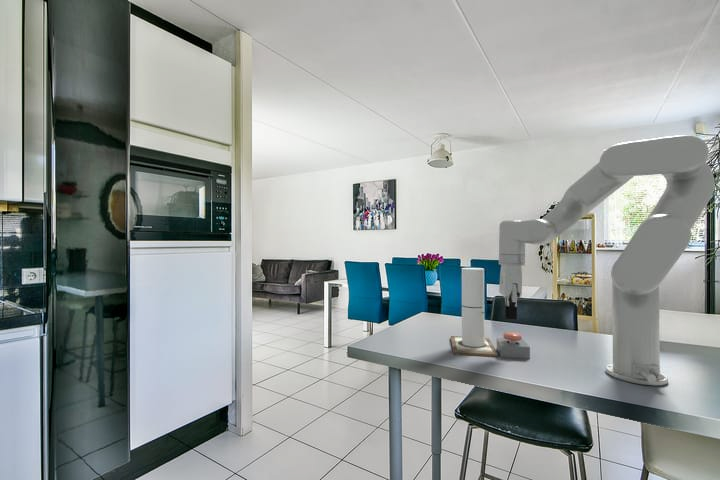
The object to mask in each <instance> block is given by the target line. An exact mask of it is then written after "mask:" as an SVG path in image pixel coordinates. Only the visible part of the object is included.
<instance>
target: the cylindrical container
mask: <svg viewBox="0 0 720 480" xmlns="http://www.w3.org/2000/svg"><path fill="white" fill-rule="evenodd" d="M461 337H462V344H463V345H466V346H470V347H482V346H484V338H485V268H482V267H461Z"/></svg>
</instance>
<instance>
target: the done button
mask: <svg viewBox="0 0 720 480" xmlns="http://www.w3.org/2000/svg"><path fill="white" fill-rule="evenodd" d="M522 337H523V336H522V334H521V333H520V332H513V331H512V332H510V331H507V332H504V333H503V339H507V340H509V344H516V341H519V340H523V338H522Z"/></svg>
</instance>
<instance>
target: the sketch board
mask: <svg viewBox="0 0 720 480" xmlns="http://www.w3.org/2000/svg"><path fill="white" fill-rule="evenodd" d="M450 342H451V347H452V354H453V355H462V356H463V355H464V356H477V357H478V356H480V357H493V358H494V357H499V352H498V351H497V349H495V347H494V345H493V343H492V341H491V340H490V338H489V337H484V346H482V347H470V346H466V345H463V344H462V336H457V335H456V336H455V335H451V336H450Z"/></svg>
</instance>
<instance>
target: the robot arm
mask: <svg viewBox="0 0 720 480" xmlns="http://www.w3.org/2000/svg"><path fill="white" fill-rule="evenodd" d="M709 152H710V150H709V146H708V144H707V143H706V142H705V141H704V140H703V139H701V138H700V137H698V136H694V135H689V134H688V135H687V134H685V135H682V134H681V135H674V136H673V135H671V136H664V137H658V138H651V139H641V140H636V141H635V140H634V141H626V142H620V143H617V144H614V145H612V146H610V147H608V148H606V149H605V150H604V151H603V153H602V154H601V155H600V158H599V162H597V163H596V164H595V165H594V166H593V167H592V168H590V169H589V170H588V171H587V172H586V173H585V174H583V175H581V177H580V178H578V179H577V180H576V181H575V182H574V183H572V184H571V185H570V186H569V187H568V188H567V189H566V191H565V192H564V195H563V196H562V198H561V200H559V202H558V203H557V204H556V206H555V207H554V208H553V209H551V210H550V211H548V213H546V214H545V215H544V216H543V217H542V218H541V219H540V218H535V219H528V220H512V219H511V220H510V219H509V220H503V221H501V222H500V223H499V227H498V228H499V229H498V230H499V233H498V235H499V237H498V265H500V273H499V287H498V291H499V294H500V295H501V296H503V298H504V318H505V319H506V320H517V318H518V315H517V313H518V299H520V298H521V297H522V295H523V294H522V292H523V271H522V270H523V269H522V266H526V244H530V245H538V246H539V245H540V246H541V245H548V244H551V243H553V242H554V241H555V240H556V239H557V238H559V237H560V236H561V235H563V234H565V233H566V231H568V230H569V229H570V228H572V226H574V225H575V224H576V223H578V222H579V220H581V219H582V218H584V217H585V216H586V215H588V214H589V213H590V212H591V211H592V210H594V209H595V208H596V207H597V206H598V205H600V204H601V203H603V201H605V200H606V199H607V198H609V197H610V196H611V195H612V194H614V193H615V192H616V191H618V190H619V189H620V188H621V187H623V186H624V185H625V184H627V183H628V182H629V181H630V180H631V179H633V178H634V177H637V176H638V177H639V176H642V177H643V176H655V175H662V176H663V177H664V179H665V181H666V186H665V189H664V191H663V193H662V195H661V196H660V197H659V200H658V202H656V204H655V205H654V207H653V209H652V210H651V212H650V213H649V215H648V217H646V219H645V220H643V221H642V222H641V223H640V225H639V226H638V227H637V229H636V231H635V232H634V234H633V235H632V237H631V238H630V240H629V242H628V243H627V244H626V246H625V248H624V249H623V250H622V252H621V254H620V255H619V257H618V258H617V259H616V260H615V262H614V263H613V265H612V267H611V271H610V276H611V281H612V284H611V285H612V288H611V289H612V292H611V293H612V296H611V297H612V314H611V315H612V363H609V364H607V365H606V366H605V372H606V373H607V374H608V375H610V376H611V377H614V378H616V379H618V380H621V381H623V382H628V383H633V384H637V385H644V386H656V387H657V386H659V387H660V386H665V385H667V384H668V383H669V377H668V376H667V375H666V374H664V373H663V372H661V364H660V363H661V362H660V359H661V353H660V348H661V347H660V318H661V317H660V315H661V314H660V311H661V310H660V285H661V283H662V282H663V281H664V279H666V277H667V275H668V274H669V273H670V271H671V270H672V269H673V267H674V266H675V264H676V263H677V262H678V260H679V259H680V257H681V256H682V255H683V254H684V252H685V250H686V249H687V247H688V246H689V243H690V241H691V239H692V228H693V226H694V225H695V224H696V223H697V221H698V219H699V218H700V216H701V215H702V213H703V212H704V210H705V208H706V207H707V205H708V203H709V202H710V200H711V198H712V196H713V193H714V191H715V190H714V189H715V183H716V182H715V176H714V173H713V171H712V169H711V167H710V166H709V164H708V162H706V161H707V159H708V157H709Z"/></svg>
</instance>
